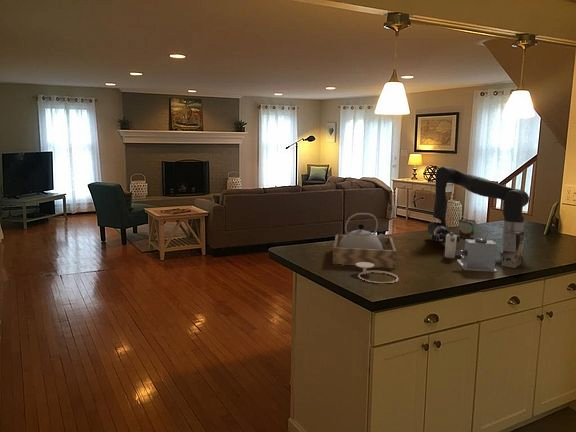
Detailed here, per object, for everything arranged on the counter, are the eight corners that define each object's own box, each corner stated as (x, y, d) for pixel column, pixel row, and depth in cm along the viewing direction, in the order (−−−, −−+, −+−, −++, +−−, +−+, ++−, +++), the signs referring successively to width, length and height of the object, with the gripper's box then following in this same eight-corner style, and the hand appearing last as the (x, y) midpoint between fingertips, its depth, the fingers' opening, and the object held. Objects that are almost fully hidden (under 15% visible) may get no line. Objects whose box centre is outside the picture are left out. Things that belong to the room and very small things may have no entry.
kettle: (371, 251, 245) (373, 208, 241) (396, 262, 224) (399, 215, 220) (328, 254, 236) (330, 210, 232) (350, 266, 215) (352, 217, 211)
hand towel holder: (379, 277, 185) (343, 265, 201) (378, 288, 186) (343, 275, 202) (408, 270, 195) (371, 259, 211) (407, 280, 196) (371, 268, 212)
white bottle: (454, 256, 237) (455, 231, 235) (456, 259, 231) (458, 234, 229) (443, 255, 238) (445, 231, 236) (446, 258, 232) (448, 234, 230)
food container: (480, 238, 281) (481, 222, 279) (471, 239, 278) (473, 222, 277) (465, 234, 292) (466, 218, 290) (457, 235, 290) (458, 219, 288)
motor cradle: (486, 262, 227) (489, 234, 224) (497, 271, 210) (499, 241, 208) (450, 260, 229) (452, 232, 227) (457, 269, 212) (459, 239, 210)
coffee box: (515, 268, 216) (519, 234, 214) (501, 265, 220) (504, 232, 218) (520, 264, 223) (524, 231, 221) (506, 262, 227) (509, 229, 225)
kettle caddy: (390, 252, 242) (391, 237, 241) (395, 268, 213) (396, 251, 211) (335, 249, 246) (335, 234, 245) (332, 264, 217) (333, 247, 215)
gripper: (429, 226, 259) (433, 232, 243) (456, 228, 257) (462, 233, 241) (428, 240, 260) (432, 246, 244) (454, 241, 258) (461, 248, 242)
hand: (447, 240), depth 243 cm, fingers open, 8 cm apart
